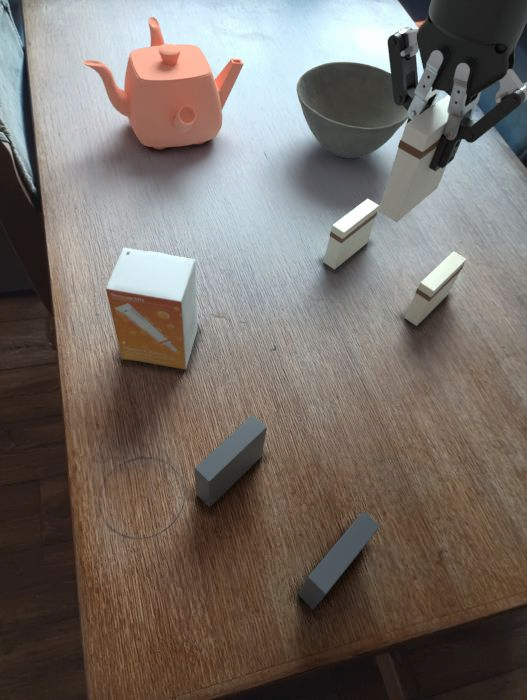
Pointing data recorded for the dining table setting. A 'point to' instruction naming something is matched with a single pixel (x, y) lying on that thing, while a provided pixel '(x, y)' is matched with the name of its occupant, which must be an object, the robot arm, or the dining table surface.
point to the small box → (154, 307)
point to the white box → (415, 162)
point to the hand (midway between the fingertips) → (423, 158)
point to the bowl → (350, 107)
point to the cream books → (355, 235)
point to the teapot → (170, 92)
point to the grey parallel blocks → (240, 457)
